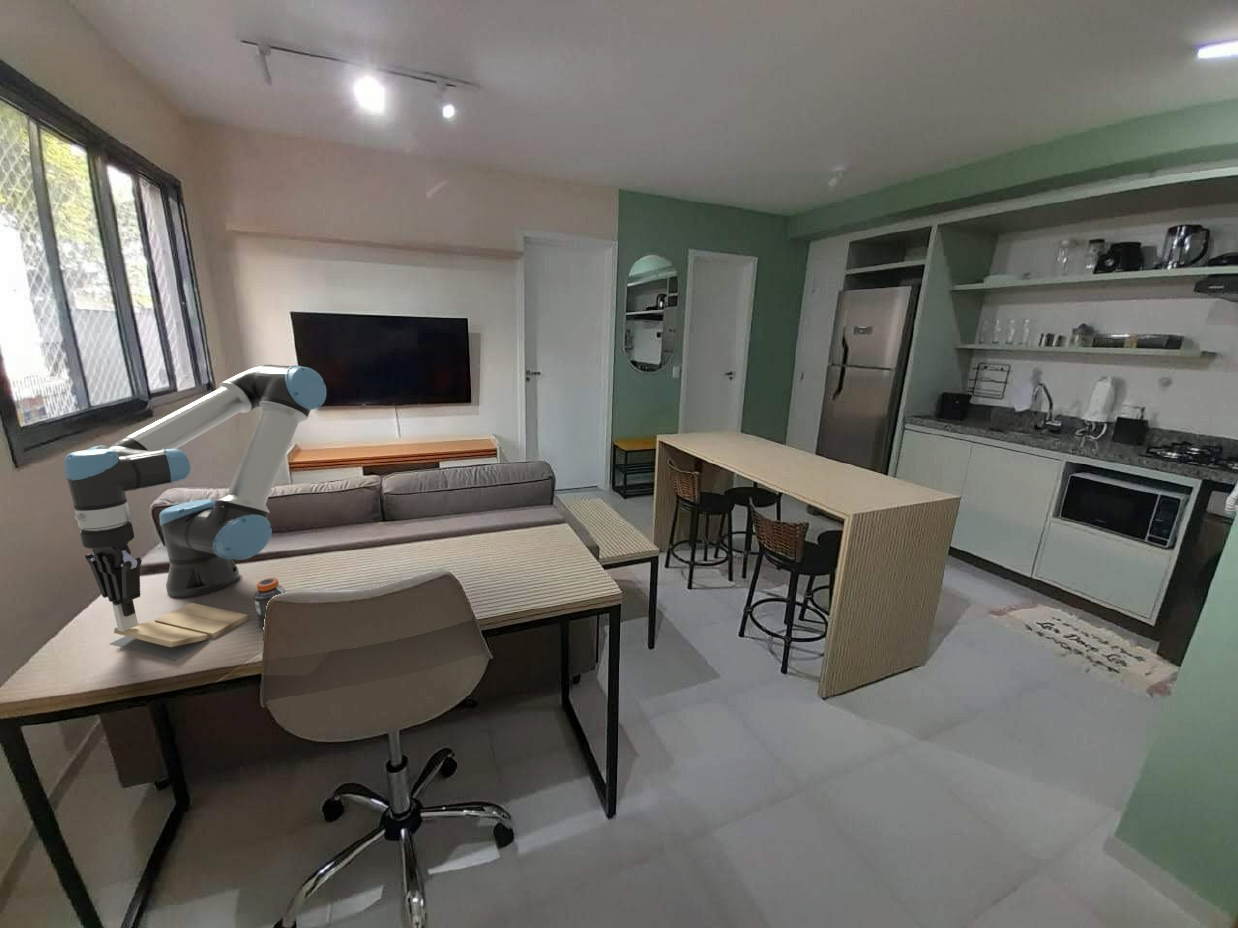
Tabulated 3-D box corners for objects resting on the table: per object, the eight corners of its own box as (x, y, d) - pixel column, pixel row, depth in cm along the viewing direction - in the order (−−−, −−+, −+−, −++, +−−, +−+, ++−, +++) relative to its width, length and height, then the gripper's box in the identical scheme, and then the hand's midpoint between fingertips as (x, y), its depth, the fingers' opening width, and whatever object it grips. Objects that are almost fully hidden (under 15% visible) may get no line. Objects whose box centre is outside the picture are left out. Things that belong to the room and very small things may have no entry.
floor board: (192, 607, 122) (191, 602, 121) (248, 619, 117) (247, 614, 117) (155, 624, 114) (154, 620, 114) (213, 638, 110) (212, 633, 109)
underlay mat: (193, 605, 123) (193, 604, 123) (253, 618, 118) (253, 617, 118) (109, 644, 107) (109, 643, 107) (175, 661, 102) (174, 660, 102)
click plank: (154, 625, 114) (155, 621, 114) (209, 638, 109) (210, 633, 109) (113, 632, 106) (114, 627, 106) (170, 647, 102) (171, 641, 102)
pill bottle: (295, 617, 119) (288, 575, 116) (280, 631, 113) (272, 587, 110) (270, 617, 118) (262, 575, 116) (253, 632, 113) (244, 587, 110)
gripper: (60, 527, 99) (85, 631, 104) (104, 535, 96) (128, 642, 101) (106, 515, 106) (128, 614, 111) (149, 522, 103) (169, 623, 108)
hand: (128, 627), depth 106 cm, fingers closed
